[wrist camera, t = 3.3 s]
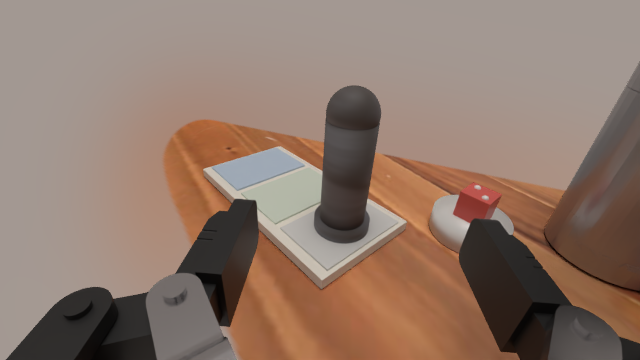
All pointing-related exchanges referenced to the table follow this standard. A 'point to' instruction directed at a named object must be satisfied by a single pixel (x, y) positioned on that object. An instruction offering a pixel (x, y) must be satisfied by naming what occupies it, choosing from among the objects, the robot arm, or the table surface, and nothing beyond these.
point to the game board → (298, 211)
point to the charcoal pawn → (347, 164)
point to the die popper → (465, 214)
